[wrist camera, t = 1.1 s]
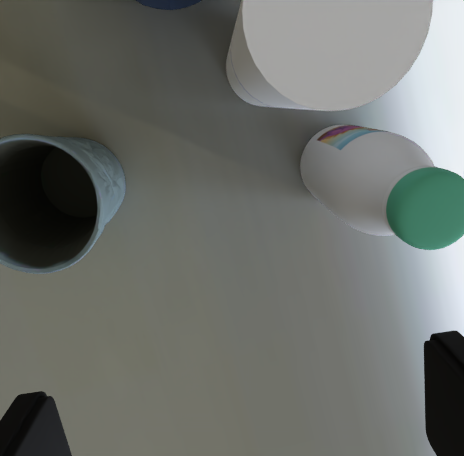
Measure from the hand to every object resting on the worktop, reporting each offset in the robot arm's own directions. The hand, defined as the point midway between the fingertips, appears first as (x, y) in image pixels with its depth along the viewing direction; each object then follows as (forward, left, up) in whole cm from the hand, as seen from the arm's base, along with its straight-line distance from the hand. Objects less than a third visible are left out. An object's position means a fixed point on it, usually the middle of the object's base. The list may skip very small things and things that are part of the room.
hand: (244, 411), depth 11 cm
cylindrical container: (-11, -2, -34) cm, 36 cm away
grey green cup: (+7, -12, -34) cm, 36 cm away
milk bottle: (-7, +9, -34) cm, 36 cm away
